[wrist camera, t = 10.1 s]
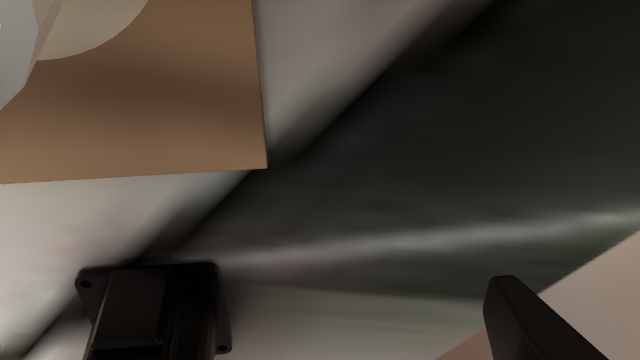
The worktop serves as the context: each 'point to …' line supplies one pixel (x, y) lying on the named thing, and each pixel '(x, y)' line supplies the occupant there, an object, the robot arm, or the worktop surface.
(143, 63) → the serving board
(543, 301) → the robot arm
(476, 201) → the worktop surface
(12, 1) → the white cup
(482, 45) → the worktop surface
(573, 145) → the worktop surface
